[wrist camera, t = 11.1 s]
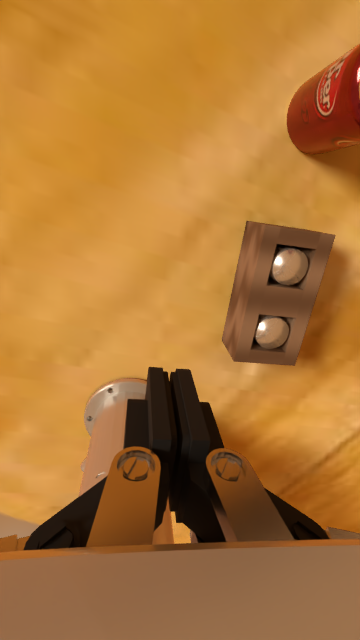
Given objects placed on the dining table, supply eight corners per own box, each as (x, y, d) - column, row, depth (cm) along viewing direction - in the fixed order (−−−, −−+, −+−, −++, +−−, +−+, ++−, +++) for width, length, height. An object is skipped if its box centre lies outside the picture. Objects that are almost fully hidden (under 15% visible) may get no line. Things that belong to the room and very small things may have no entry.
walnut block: (275, 344, 44) (294, 365, 38) (221, 340, 42) (233, 361, 37) (307, 229, 38) (335, 235, 32) (246, 220, 37) (265, 224, 31)
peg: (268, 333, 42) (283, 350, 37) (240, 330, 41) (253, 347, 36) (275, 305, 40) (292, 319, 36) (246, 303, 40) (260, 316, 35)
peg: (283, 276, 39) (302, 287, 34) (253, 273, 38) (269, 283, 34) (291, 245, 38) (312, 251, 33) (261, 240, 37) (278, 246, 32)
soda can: (271, 117, 33) (336, 75, 22) (323, 60, 32) (421, -15, 21) (308, 169, 35) (385, 156, 24) (359, 118, 34) (463, 80, 23)
